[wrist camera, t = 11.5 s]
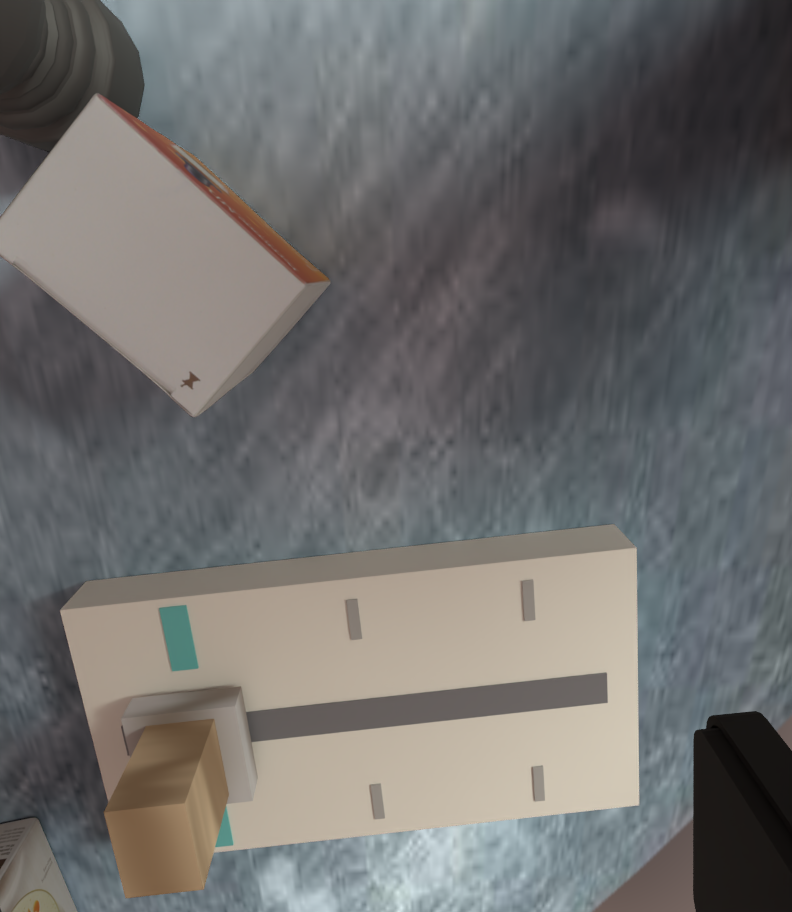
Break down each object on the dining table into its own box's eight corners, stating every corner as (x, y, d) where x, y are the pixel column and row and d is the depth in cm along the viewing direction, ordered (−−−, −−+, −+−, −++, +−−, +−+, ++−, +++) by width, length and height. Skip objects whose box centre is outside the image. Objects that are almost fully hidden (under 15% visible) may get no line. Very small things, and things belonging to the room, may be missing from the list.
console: (613, 524, 34) (637, 548, 31) (618, 764, 38) (639, 806, 35) (86, 581, 34) (58, 611, 31) (142, 816, 38) (122, 864, 35)
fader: (241, 686, 32) (209, 788, 25) (257, 777, 33) (231, 896, 27) (132, 698, 32) (73, 803, 25) (153, 789, 33) (102, 911, 27)
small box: (333, 282, 31) (315, 288, 20) (252, 375, 32) (196, 425, 21) (190, 148, 29) (93, 82, 19) (108, 250, 30) (-26, 240, 20)
